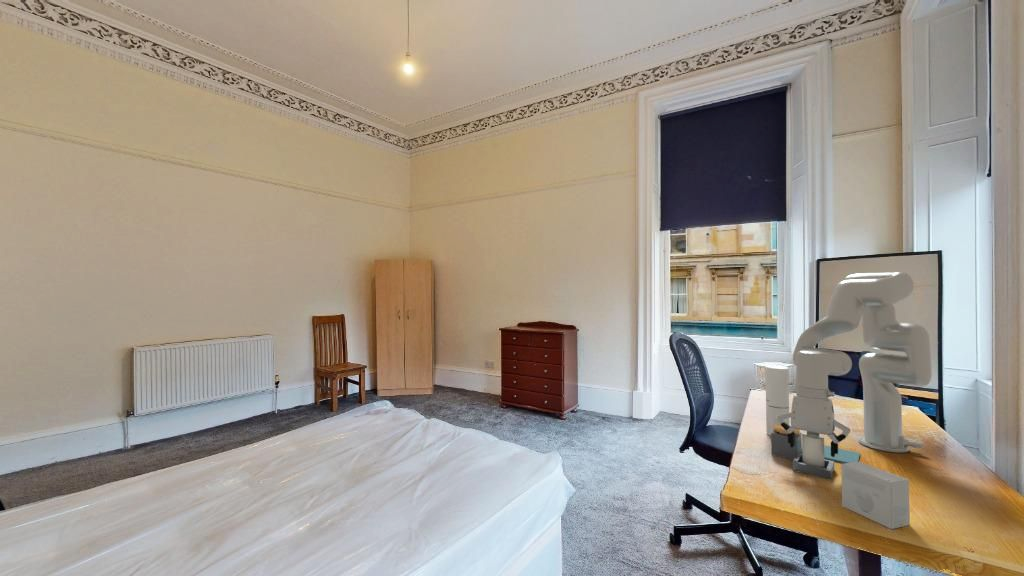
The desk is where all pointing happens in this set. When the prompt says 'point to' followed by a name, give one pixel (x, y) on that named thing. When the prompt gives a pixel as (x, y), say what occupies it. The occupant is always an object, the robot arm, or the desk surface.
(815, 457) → the cylinder
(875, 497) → the skincare box
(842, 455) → the pad
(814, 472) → the frame
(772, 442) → the plunger housing
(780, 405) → the cylindrical container
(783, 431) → the plunger
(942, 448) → the desk surface
